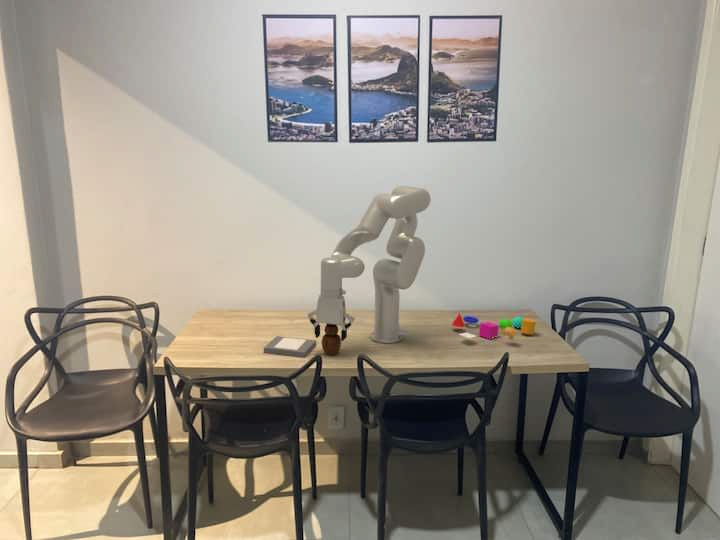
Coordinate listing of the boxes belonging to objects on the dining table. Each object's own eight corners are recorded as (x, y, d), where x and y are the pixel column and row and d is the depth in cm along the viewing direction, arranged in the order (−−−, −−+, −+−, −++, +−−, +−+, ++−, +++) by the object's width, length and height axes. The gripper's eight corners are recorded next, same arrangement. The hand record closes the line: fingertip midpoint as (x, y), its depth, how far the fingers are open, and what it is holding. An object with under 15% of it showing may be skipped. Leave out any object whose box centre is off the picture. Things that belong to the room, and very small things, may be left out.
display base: (316, 345, 198) (316, 339, 198) (305, 357, 187) (305, 352, 186) (277, 340, 202) (276, 335, 202) (263, 352, 191) (263, 347, 190)
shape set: (546, 339, 212) (549, 322, 210) (493, 353, 190) (496, 334, 188) (487, 319, 234) (489, 304, 233) (434, 330, 212) (436, 313, 211)
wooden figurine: (343, 352, 192) (343, 313, 188) (336, 358, 187) (336, 318, 183) (327, 349, 195) (327, 311, 191) (319, 355, 190) (319, 315, 186)
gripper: (357, 292, 186) (356, 337, 190) (311, 287, 191) (311, 332, 195) (351, 297, 179) (350, 344, 183) (304, 293, 183) (304, 338, 187)
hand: (330, 338), depth 189 cm, fingers open, 9 cm apart
